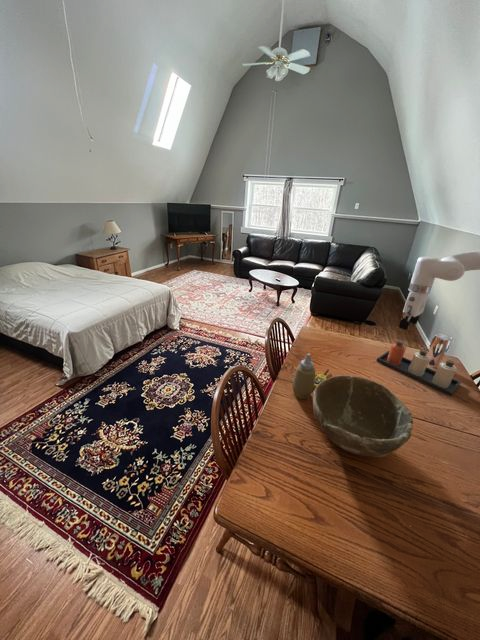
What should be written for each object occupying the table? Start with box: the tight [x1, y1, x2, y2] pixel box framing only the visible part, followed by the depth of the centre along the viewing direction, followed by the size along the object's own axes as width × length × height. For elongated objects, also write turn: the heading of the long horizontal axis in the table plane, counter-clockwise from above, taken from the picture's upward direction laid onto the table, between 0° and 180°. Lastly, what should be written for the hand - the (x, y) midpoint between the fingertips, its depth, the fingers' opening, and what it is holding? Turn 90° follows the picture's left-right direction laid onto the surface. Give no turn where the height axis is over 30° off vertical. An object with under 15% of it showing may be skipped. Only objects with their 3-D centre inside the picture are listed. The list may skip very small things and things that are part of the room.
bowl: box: [312, 374, 414, 458], centre depth 81 cm, size 28×27×15 cm
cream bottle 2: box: [432, 359, 458, 388], centre depth 109 cm, size 6×6×11 cm
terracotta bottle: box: [387, 339, 407, 366], centre depth 122 cm, size 6×6×11 cm
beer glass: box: [427, 332, 454, 369], centre depth 121 cm, size 7×7×15 cm
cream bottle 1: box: [408, 348, 430, 376], centre depth 115 cm, size 6×6×11 cm
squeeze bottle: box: [291, 353, 316, 400], centre depth 98 cm, size 8×8×18 cm
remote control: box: [314, 369, 330, 390], centre depth 111 cm, size 5×2×15 cm
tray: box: [376, 350, 462, 397], centre depth 117 cm, size 30×12×2 cm, turn 39°
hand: (407, 325), depth 116 cm, fingers open, 9 cm apart
